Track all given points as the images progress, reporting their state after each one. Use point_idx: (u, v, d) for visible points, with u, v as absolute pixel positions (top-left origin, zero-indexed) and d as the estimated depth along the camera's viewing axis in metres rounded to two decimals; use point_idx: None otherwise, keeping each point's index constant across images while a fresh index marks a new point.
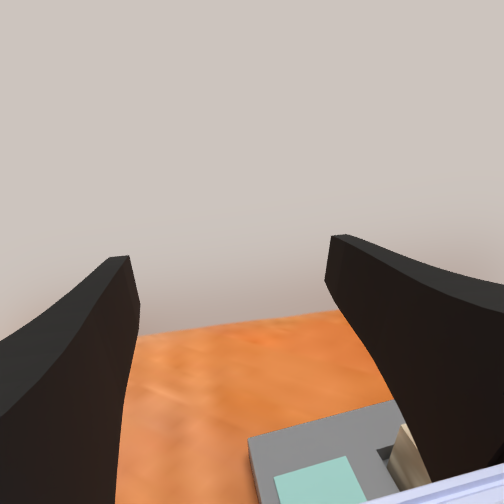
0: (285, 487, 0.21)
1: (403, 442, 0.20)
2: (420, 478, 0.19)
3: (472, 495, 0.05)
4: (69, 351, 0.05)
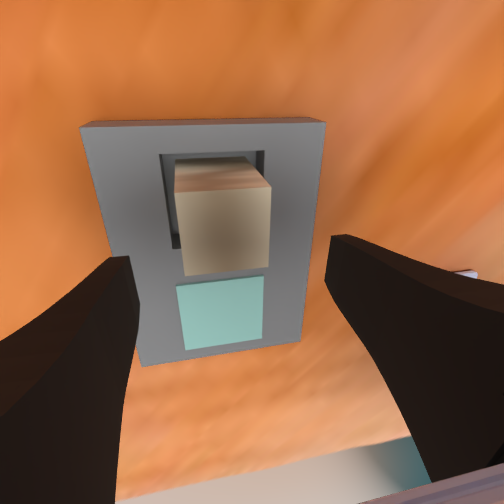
0: (194, 340, 0.21)
1: None
2: None
3: (472, 495, 0.05)
4: (69, 351, 0.05)
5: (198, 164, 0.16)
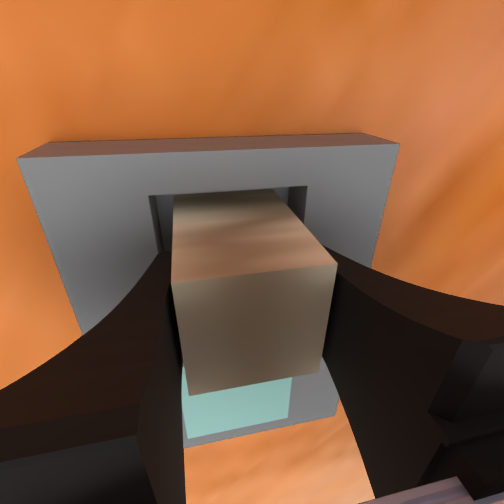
0: (200, 425, 0.16)
1: None
2: None
3: (472, 495, 0.05)
4: (161, 338, 0.05)
5: (208, 206, 0.11)
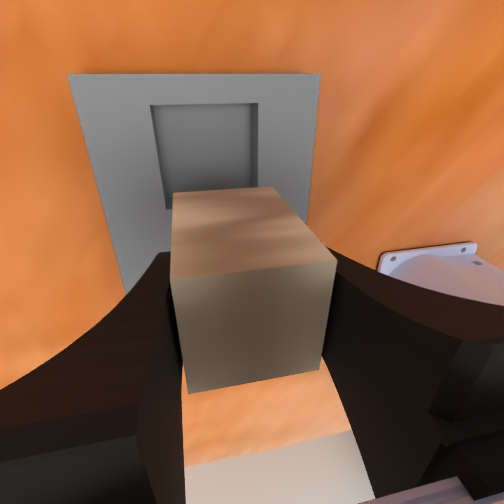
0: None
1: None
2: None
3: (472, 495, 0.05)
4: (160, 337, 0.05)
5: (207, 204, 0.11)
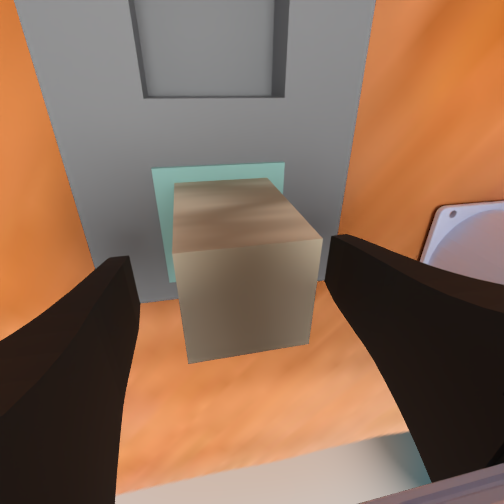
0: None
1: None
2: None
3: (472, 495, 0.05)
4: (69, 351, 0.05)
5: (206, 192, 0.11)
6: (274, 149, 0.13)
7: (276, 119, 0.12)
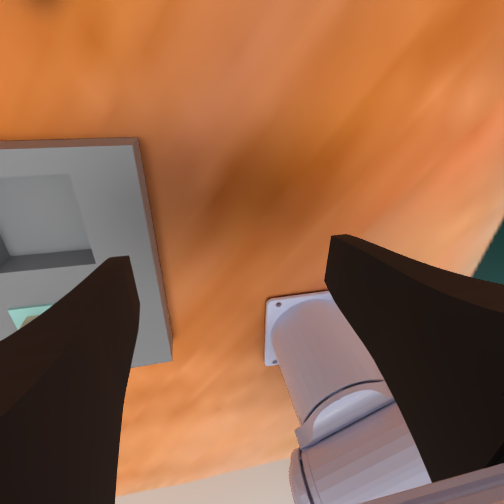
0: None
1: None
2: None
3: (472, 495, 0.05)
4: (69, 351, 0.05)
5: None
6: None
7: None
